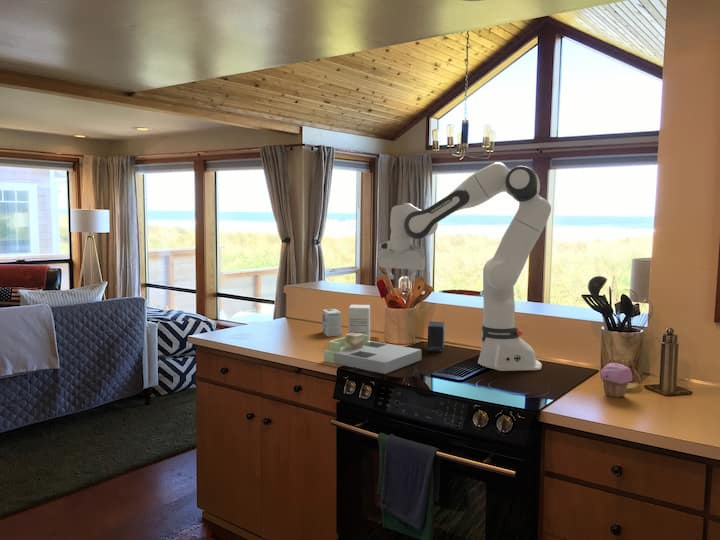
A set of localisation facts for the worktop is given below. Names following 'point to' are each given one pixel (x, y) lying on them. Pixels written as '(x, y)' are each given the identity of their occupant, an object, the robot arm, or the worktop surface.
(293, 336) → the worktop surface
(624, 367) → the cupcake
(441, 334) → the small box
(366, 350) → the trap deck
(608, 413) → the worktop surface
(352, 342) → the birch block
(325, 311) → the light bulb box
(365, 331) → the supplement box
